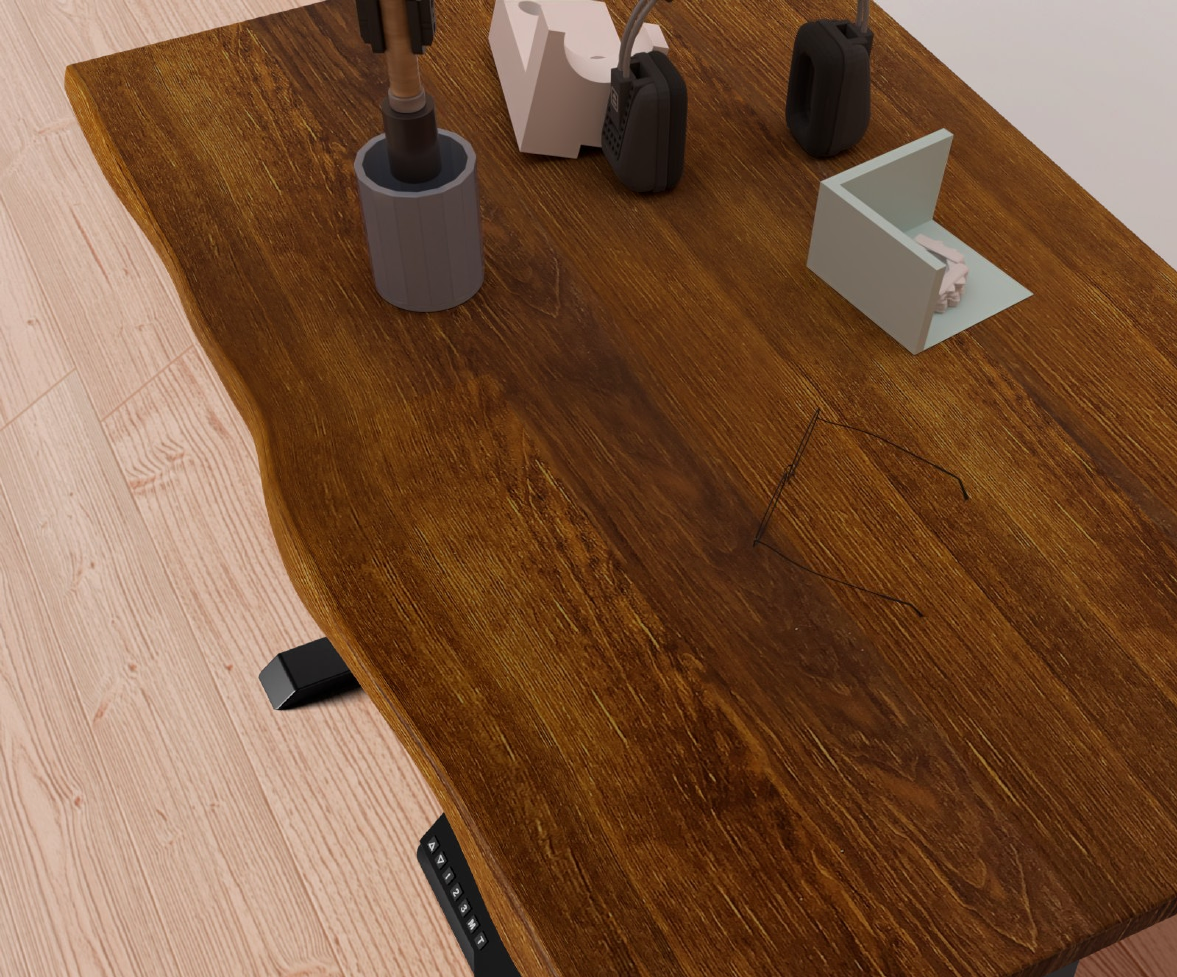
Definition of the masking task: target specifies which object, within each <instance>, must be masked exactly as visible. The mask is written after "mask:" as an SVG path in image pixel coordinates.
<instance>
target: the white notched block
mask: <svg viewBox="0 0 1177 977" xmlns="http://www.w3.org/2000/svg"><path fill="white" fill-rule="evenodd" d="M487 37H488V42H489V47H490V49H491V53H492V57H493V61H494V63H495V67H496V71H497V74H498V78H499V81H500V85H501V89H502V92H503V96H504V99H505V100H504V101H505V103H506V107H507V110H508V114H509V118H510V121H511V125H512V128H513V131H514V135H515V140H516V142H517V146H518V150H519V152H520V153H527V154H537V155H544V156H553V157H561V158H567V159H568V158H569V159H576V160H577V159H578V157H579V153H580V149H581V146H589V147H596V148H602V146H601V135H602V129H603V124H604V119H605V114H606V109H607V104H608V99H609V95H610V91H611V68H616V67H617V66H618V62H619V51H620V45H621V39H620V37H619V34H618V32H617V30H616V27H615V25H614V22H613V19H612V17H611V15H610V12H609V10H608V7H607V5H606V2H605V1H599V0H495V2H494V8H493V13H492V18H491V22H490V28H489V33H488V36H487ZM653 50H658V51H660V52H662V53H664V54H665V55H666V56H667V57H668V53H669V50H670V47H669V45H668V43H667V41H666V38H665V35H664V34H663V31H662V29H661V27H660V25H659V24H655V23H650V22H649V23H648V22H643V23H642V25H641V27H640V29H639V31H638V33H637V35H636V38H635V41H634V45H633V48H632V52H631V56H633V55H634V54H636V53H640V52H646V53H648V52H650V51H653Z"/></svg>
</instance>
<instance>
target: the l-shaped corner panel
mask: <svg viewBox="0 0 1177 977" xmlns="http://www.w3.org/2000/svg"><path fill="white" fill-rule="evenodd" d="M953 139H954V134H953V133H952V132H951V131H950V130H948V129H946V128H944V127H943V128H941V129H938V130H936V131H934V132H932V133H930V134H926V135H925V136H922V137H920V138H917V139H916V140H913V141H911V142H909V143H906V144H904V145H902V146H900V147H897V148H895V149H892V150H890V151H888V152H886V153H883V154H881V155H878V156H876V157H874V158H871V159H869V160H867V161H865V162H863V163H860V164H857V165H856V166H853V167H851V168H849V169H846V170H844V171H842V172H840V173H839V172H838V173H837V174H835V175H832V176H830V177H828V178H826V179H823V180H821V181H819V188H818V194H817V200H816V206H815V212H814V213H815V214H814V219H813V224H812V231H811V236H810V244H809V249H808V253H807V254H808V255H807V260H806V268H808V269H809V270H810V271H811V272H812V273H814V274H815V275H816V276H817V277H818V278H820V279H821V280H822V282H823V281H824V283H825V284H827V285H828V286H830V287H831V288H832V289H833V290H834V291H835V292H837V293H838V294H839V295H840V296H842V297H843V298H844V299H845V300H846V301H847V302H849V303H850V304H851V305H852V306H854V307H855V308H856V309H857V310H858V311H860V312H861V313H863V314H864V316H866V317H867V318H868V319H869V320H871V321H872V322H873V323H874V324H876V325H877V326H878V327H879V328H881V329H882V330H883V331H884V332H885V333H887V334H888V335H889V336H890V337H892V338H893V339H894V340H895V341H896V342H897V343H899V344H900V345H901V346H902V347H903V348H905V349H906V350H907V351H909V352H910V353H911V354H912V355H913V356H916V355H918V354H920V353H921V352H924V351H925V350H927V349H930V348H932V347H933V346H935V345H937V344H940V343H942V342H943V341H945V340H947V339H949V338H951V337H953V336H955V335H956V334H959V333H961V332H963V331H964V330H967V329H968V328H970V327H973V326H975V325H977V324H978V323H980V322H983V321H984V320H986V319H988V318H991V317H992V316H994V315H997V314H998V313H1000V312H1002V311H1004V310H1006V309H1008V308H1010V307H1011V306H1013V305H1016V304H1017V303H1020V302H1022V301H1023V300H1025V299H1028V298H1030V297H1031V296H1033V295H1034V293H1033V292H1032V291H1030V290H1029V289H1028V288H1026V287H1025V286H1023V285H1022V284H1021V283H1019V282H1018V281H1017V280H1015V279H1014V278H1013V277H1011V276H1010V275H1008V274H1007V273H1006V272H1004V270H1002V269H1000V268H999V267H997V266H996V265H995V264H994V263H992V262H991V261H989V260H988V259H987V258H985V257H984V256H983V255H981V254H980V253H978V252H977V251H976V250H974V249H973V248H972V247H970V246H969V245H968V244H966V243H965V242H963V241H962V240H961V239H959V238H958V237H957V236H955V235H954V234H952V232H950V231H949V230H947V229H946V228H945V227H943V226H942V225H940V224H939V223H938V222H936V221H935V220H934V219H933V217H934V214H935V210H936V207H937V203H938V199H939V194H940V190H941V187H942V182H943V178H944V175H945V170H946V166H947V163H948V159H949V155H950V151H951V146H952V142H953Z"/></svg>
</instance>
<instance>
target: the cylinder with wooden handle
mask: <svg viewBox="0 0 1177 977" xmlns="http://www.w3.org/2000/svg"><path fill="white" fill-rule="evenodd" d="M379 6H380V14H381V21H382V28H383V35H384V43H385V57H386V65H387V71H388V72H387V73H388V79H389V86H390V87H389V88H388V92H387V94H388V95H386V96H385V97H384V98H383V99H382V101H381V104H380V110H381V115H382V123H383V130H384V133H385V138H386V144H387V151H388V158H389V165H390V172H391V174H392V176H393V177H394V178H395V179H397V180H398V181H400V182H403V183H408V184H420V183H425V182H428V181H431V180H433V179H434V178H436V177H437V176H438V175H439V174H440V172H441V169H442V164H441V155H440V146H439V136H438V128H439V127H438V118H437V109H436V100H435V99H434V97H433V96H432V95H431V94H430V93H428V92H426V91H425V87H424V86H423V85H422V83H421V76H420V68H419V58H418V55H415V54H413V53H412V47H411V38H410V30H409V22H408V13H407V5H406V0H379Z"/></svg>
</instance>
